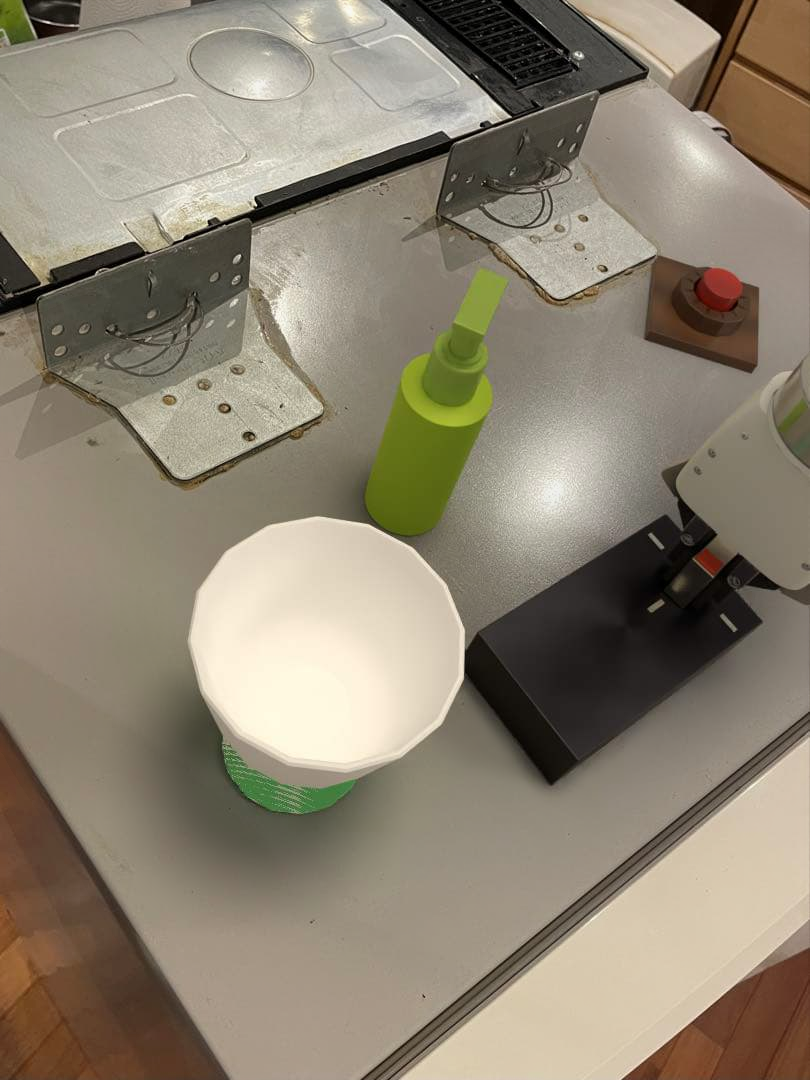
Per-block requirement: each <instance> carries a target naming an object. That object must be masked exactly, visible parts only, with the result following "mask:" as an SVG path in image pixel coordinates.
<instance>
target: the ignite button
mask: <svg viewBox="0 0 810 1080" xmlns="http://www.w3.org/2000/svg"><path fill="white" fill-rule="evenodd" d="M711 268H712V269H709V270H708V271H706V272H705V274H704V275H703V277H702V279H701V280H700V282H699V283H698V285H697V286H696V290H695V293H696V296H697V298H698V300H699V301H700V302H702V303H703V304H704V305H705V306H707V307H708V308H710V309H713V310H716V311H719V312H725V311H728V310H730V309H731V308H732V307H733V305H734V304H735V302H736V301H737V299H738V298H739V297H740V295H741V293H742V284H741V282H742V281H741V280H740V279H739V278H738V276H737V275H735V274H734V273H732V272H731V271H729V270H727V269H724V268H721V267H711ZM740 281H741V282H740Z"/></svg>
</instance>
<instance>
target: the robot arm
mask: <svg viewBox="0 0 810 1080" xmlns="http://www.w3.org/2000/svg"><path fill="white" fill-rule="evenodd" d="M660 476H661V477H662V480H663V481H664V483H665V485H666V487H667V488H668V489H669V491H670V493H671V494H672V495H673V497H674V498H676V499H677V502H676V505H677V508H678V513H679V517H680V520H681V524H682V530H681V531H682V532H681V533H680V539H681V541H680V542H679V543H678V544H677V546H676V547H675V548H674V549H673V550H672V551H671V552H670V554H669V555H668V556H667V558H668V559H669V560H670V561H671V562H672V563H674V564H673V565H672V566H671V567H670V568H669V569H668V571H667V572H666V573H665V574H664V575H663V576H662V578H663V579H664V580H665V581H666V582H668V581H669V582H671V581H672V580H673V579H674V578H675V577H676V576H677V574H678V573H679V572H680V571H681V570H682V569H683V568H684V567H685V566H686V565H687V564H688V563H689V561H690V560H691V559H692V558H693V557H694V556H695V555H696V554H697V553H699V552H700V551H701V550H702V549H703V548H704V547H705V546H706V545H707V544H708V543H709V542H710V541H711V540H712V539H713V538H714V537H715V536H716V535H717V534H719V535H720V536H721V537H722V538H723V539H724V540H725V541H727V542H728V543H729V544H730V545H731V546H732V547H733V548H734V549H735V550H737V551H738V552H739V554H738V555H737V556H736V557H735V558H734V559H733V560H732V561H731V562H730V563H729V564H728V565H726V566H725V567H724V568H723V569H722V570H721V571H720V572H719V573H718V574H717V575H716V576H715V577H714V578H713V579H712V580H711V581H710V582H709V583H708V584H707V585H706V586H705V587H704V588H703V589H702V590H701V591H700V592H699V593H698V594H697V595H696V596H695V597H694V598H693V599H692V600H691V602H692V603H693V604H692V606H693V607H694V608H695V609H697V610H698V609H699V608H700V607H701V606H702V605H703V604H704V603H705V602H706V601H707V600H708V599H709V598H712V599H713V600H714V601H715V602H716V603H717V604H719V603H720V602H721V601H722V600H723V599H724V598H725V597H726V596H727V595H728V594H730V593H731V592H732V591H733V590H742V589H743V588H744V587H751V588H755V589H756V588H757V589H761V590H767V591H776V590H778V591H780V593H781V595H784V596H786V597H788V598H790V599H792V600H794V601H795V602H798V603H800V604H802V605H805V606H810V351H809V352H808V353H807V354H806V355H805V356H804V357H803V358H802V360H801V361H800V362H799V363H798V364H797V366H796V367H795V368H794V369H793V370H786V371H782V372H779V373H778V374H776V375H774V376H773V377H771V378H770V379H769V380H767V381H766V382H765V383H763V384H762V385H761V386H760V387H759V388H758V389H756V390H755V391H754V392H753V393H752V394H751V395H749V396H748V397H747V398H746V399H745V400H744V401H743V402H742V403H741V404H740V405H739V406H738V407H737V408H736V409H735V410H734V411H733V412H732V413H731V414H730V415H729V416H728V417H727V418H726V419H725V420H724V421H723V423H721V425H720V426H718V428H717V429H716V430H715V431H714V432H713V433H711V435H710V436H709V437H708V438H707V440H705V442H704V443H703V444H702V445H701V446H700V447H699V449H698V450H697V451H696V452H692V453H690V454H687V455H685V456H683V457H681V458H678V459H676V460H673V461H672V462H671V463H670V464H668V465H667V466H666V467H665V468H663V469H662V470H661V472H660Z"/></svg>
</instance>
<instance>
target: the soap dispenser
mask: <svg viewBox="0 0 810 1080" xmlns="http://www.w3.org/2000/svg"><path fill="white" fill-rule="evenodd" d="M509 281H510V279H509V278H508V277H505V276H503V275H500V274H498V273H495V272H493V271H490V270H489V269H486V268H483V267H480V266H479V268H478V270H477V272H476V274H475V276H474V278H473V280H472V282H471V284H470V286H469V288H468V290H467V291H466V294H465V296H464V299H463V301H462V303H461V305H460V307H459V309H458V311H457V314H456V315H455V318H454V319H453V322H452V325H451V328H450V330H447V331H444V332H442V333H441V334H439V335H438V336H437V337H436V339H435V341H434V343H433V345H432V348H431V351H430V352H428V353H424V354H421V355H419V356H417V357H415V358H413V359H412V360H410V361H409V363H407V365H406V366H405V368H403V371H402V374H401V377H400V380H399V383H398V386H397V388H396V393H395V396H394V399H393V402H392V405H391V408H390V412H389V415H388V418H387V421H386V424H385V428H384V430H383V434H382V437H381V440H380V443H379V447H378V450H377V453H376V456H375V459H374V462H373V466H372V468H371V472H370V475H369V478H368V481H367V485H366V487H365V491H364V503H365V507H366V510H367V511H368V513H369V515H370V517H371V518H372V520H373V521H374V522H375V523H377V524H378V526H380V527H382V529H384V530H386V531H387V532H391V533H392V534H395V535H400V536H407V537H408V536H409V537H411V536H418V535H422V534H425V533H427V532H429V531H431V530H432V529H433V528H434V527H435V526H436V525H437V524H438V523H439V522H440V520H441V518H442V516H443V514H444V512H445V510H446V507H447V505H448V504H449V501H450V499H451V496H452V495H453V492H454V490H455V487H456V485H457V483H458V481H459V479H460V476H461V474H462V472H463V470H464V467H465V466H466V464H467V461H468V459H469V456H470V454H471V452H472V450H473V447H474V445H475V443H476V441H477V439H478V436H479V434H480V432H481V431H482V430H481V429H482V428H483V425H484V423H485V421H486V419H487V417H488V415H489V412H490V410H491V408H492V404H493V399H494V397H493V389H492V385H491V383H490V381H489V379H488V378H487V376H486V374H485V373H484V372H485V370H486V367H487V365H488V362H489V357H490V356H489V350H488V348H487V345H486V344H485V343H484V342H483V340H484V339H485V335H486V333H487V331H488V329H489V327H490V324H491V322H492V319H493V318H494V316H495V313H496V312H497V308H498V306H499V305H500V301H501V299H502V297H503V296H504V293H505V290H506V288H507V285H508V283H509Z"/></svg>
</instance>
